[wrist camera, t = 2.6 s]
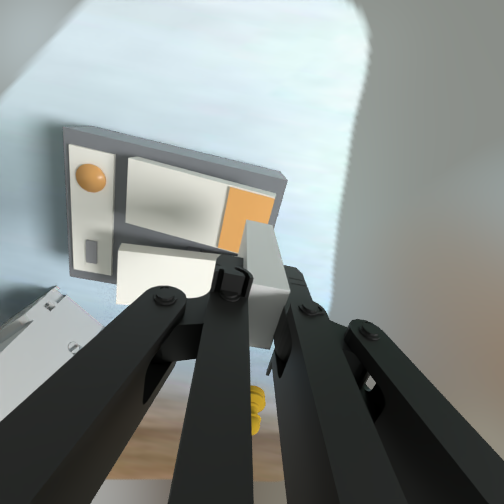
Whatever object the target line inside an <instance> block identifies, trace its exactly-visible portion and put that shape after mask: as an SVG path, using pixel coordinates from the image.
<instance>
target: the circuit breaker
mask: <svg viewBox="0 0 504 504" xmlns="http://www.w3.org/2000/svg"><path fill="white" fill-rule="evenodd" d="M58 290H59V288H58V287H57V286H56V287H54V288H53V289H51V290H50V291H49V292H47V293H46V294H44V295H43V296H42V297H40V298H39V299H37V300H36V301H34V302H33V303H32V304H30V305H29V306H27V307H26V308H24V309H23V310H22V311H20V312H19V313H17V314H16V315H15V316H13V317H12V318H10V319H9V320H8V321H7V322H6V323H5V324H4V325H2V326H1V327H0V421H2V420H3V419H4V418H5V417H6V416H7V415H8V414H9V413H10V412H12V411H13V410H14V409H15V408H16V407H17V406H18V405H19V404H20V403H22V402H23V401H24V400H25V399H26V398H27V397H28V396H29V395H30V394H32V393H33V392H34V391H35V390H36V389H37V388H38V387H39V386H40V385H42V384H43V383H44V382H45V381H46V380H47V379H48V378H49V377H50V376H52V375H53V374H54V373H55V372H56V371H57V370H58V369H59V368H60V367H62V366H63V365H64V364H65V363H66V362H67V361H68V360H69V359H70V358H72V357H73V356H74V355H75V354H76V353H77V352H78V351H79V350H80V349H82V348H83V347H84V346H85V345H86V344H87V343H88V342H89V341H90V340H92V339H93V338H94V337H95V336H96V335H97V334H98V333H99V332H100V331H102V330H103V329H104V328H105V327H103V325H101V324H100V323H99V322H98V321H97V320H96V319H94V318H93V317H92V316H91V315H90V314H89V313H87V312H86V311H85V310H84V309H83V308H82V307H80V306H79V305H78V304H77V303H76V302H75V301H73V300H72V299H71V298H70V297H69V296H68V295H66V296H63V295H62V294H61V293H60V292H58Z"/></svg>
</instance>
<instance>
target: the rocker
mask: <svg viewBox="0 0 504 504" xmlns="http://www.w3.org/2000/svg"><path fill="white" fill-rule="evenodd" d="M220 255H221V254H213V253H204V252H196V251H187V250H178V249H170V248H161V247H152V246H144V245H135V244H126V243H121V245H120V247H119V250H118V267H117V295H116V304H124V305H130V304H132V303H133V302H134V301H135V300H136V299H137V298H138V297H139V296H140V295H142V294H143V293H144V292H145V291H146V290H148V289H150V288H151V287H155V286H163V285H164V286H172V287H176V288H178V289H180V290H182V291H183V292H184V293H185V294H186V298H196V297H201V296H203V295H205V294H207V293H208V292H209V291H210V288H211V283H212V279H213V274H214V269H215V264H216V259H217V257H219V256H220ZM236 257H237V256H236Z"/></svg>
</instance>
